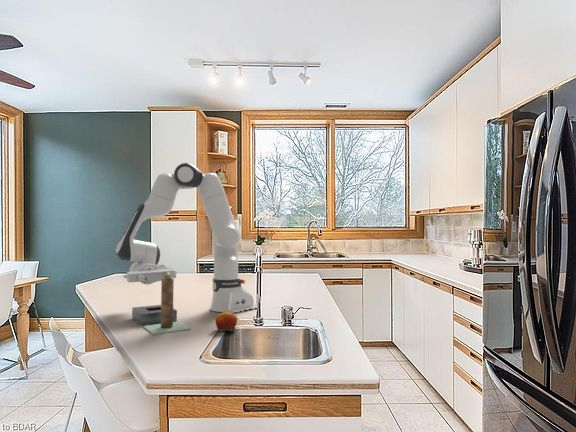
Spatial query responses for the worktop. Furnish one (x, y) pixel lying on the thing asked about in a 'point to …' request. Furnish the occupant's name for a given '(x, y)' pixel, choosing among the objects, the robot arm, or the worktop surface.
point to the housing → (149, 315)
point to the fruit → (226, 321)
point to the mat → (158, 330)
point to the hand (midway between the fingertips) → (157, 277)
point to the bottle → (167, 302)
